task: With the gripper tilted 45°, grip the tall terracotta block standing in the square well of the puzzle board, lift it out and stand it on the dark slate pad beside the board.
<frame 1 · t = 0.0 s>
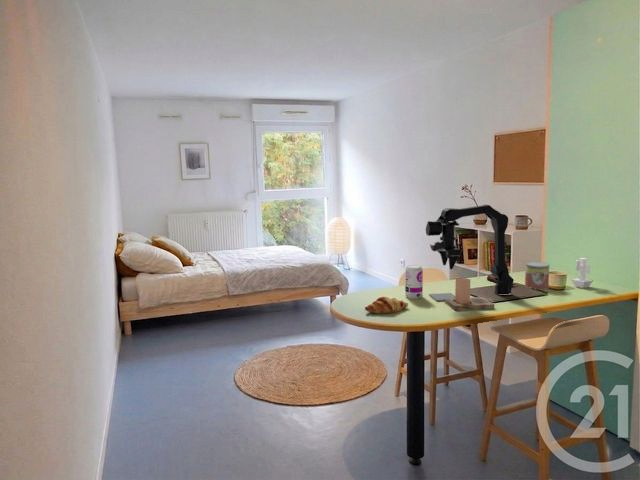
hand: (447, 267, 235), 15 cm above the breakfast bar, tool pointing down, fingers open, 9 cm apart
puzzle board: (469, 305, 222), on the breakfast bar
slate pad: (443, 297, 236), on the breakfast bar
sunglasses case: (502, 284, 263), on the breakfast bar
terracotta block: (462, 306, 222), resting in puzzle board
supplement can: (413, 297, 239), on the breakfast bar
croissant: (387, 311, 217), on the breakfast bar
canned food: (536, 287, 253), on the breakfast bar
figurine: (581, 287, 251), on the breakfast bar
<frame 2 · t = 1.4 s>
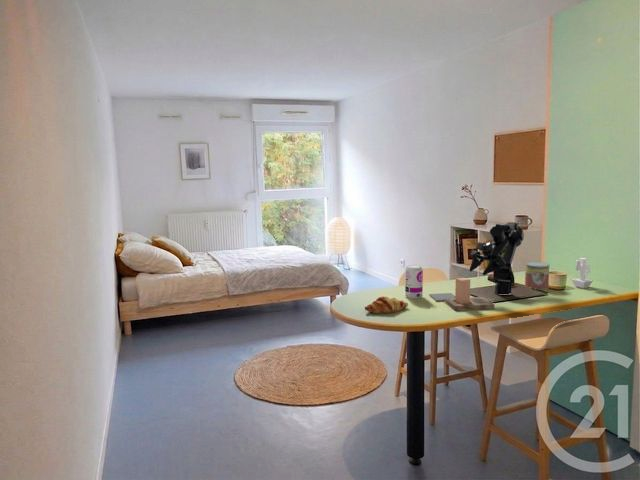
hand: (476, 272, 226), 14 cm above the breakfast bar, tool tilted 45°, fingers open, 9 cm apart
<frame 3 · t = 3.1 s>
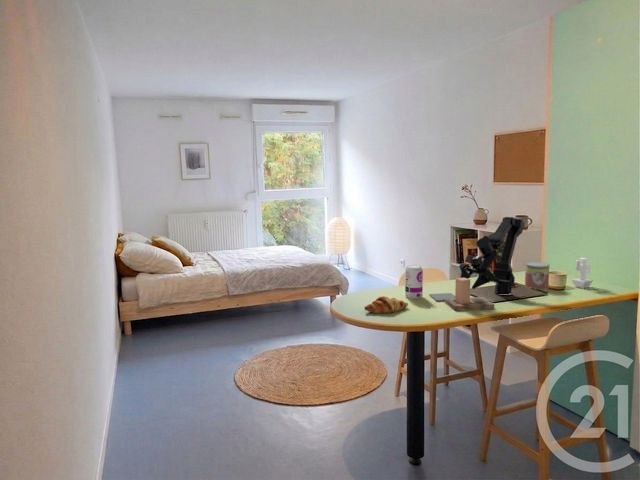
hand: (465, 286, 221), 9 cm above the breakfast bar, tool tilted 45°, fingers open, 9 cm apart
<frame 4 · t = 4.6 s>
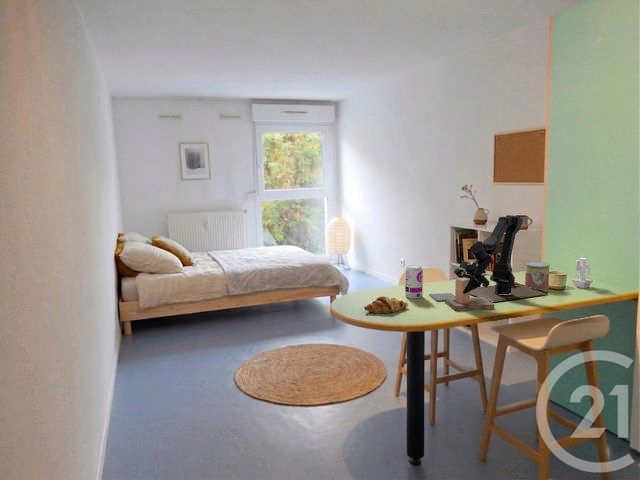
hand: (460, 291, 221), 7 cm above the breakfast bar, tool tilted 45°, fingers closed on terracotta block, 4 cm apart
terracotta block: (462, 305, 222), resting in puzzle board, touching gripper
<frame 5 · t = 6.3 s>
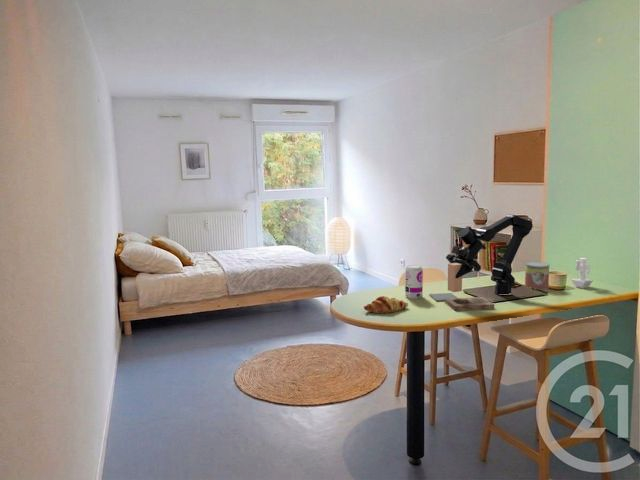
hand: (452, 276, 226), 12 cm above the breakfast bar, tool tilted 45°, fingers closed on terracotta block, 4 cm apart
terracotta block: (454, 290, 227), point 6 cm above the breakfast bar, touching gripper
when the fingers open (9 cm above the breakfast bar, at t = 8.1 s): terracotta block drops 1 cm, resting on slate pad.
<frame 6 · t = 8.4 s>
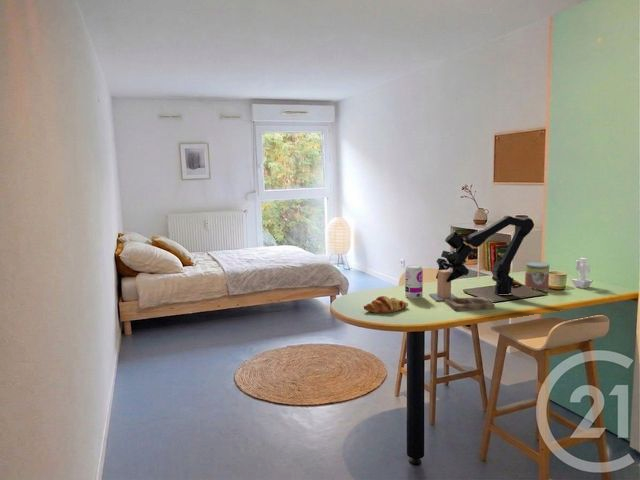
hand: (441, 280, 234), 9 cm above the breakfast bar, tool tilted 45°, fingers open, 8 cm apart
terracotta block: (443, 296, 236), point 1 cm above the breakfast bar, touching slate pad
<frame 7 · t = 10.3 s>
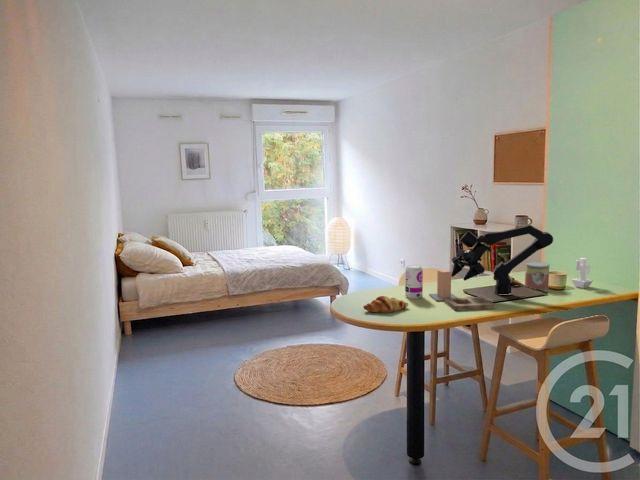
hand: (457, 278, 237), 9 cm above the breakfast bar, tool tilted 45°, fingers open, 9 cm apart
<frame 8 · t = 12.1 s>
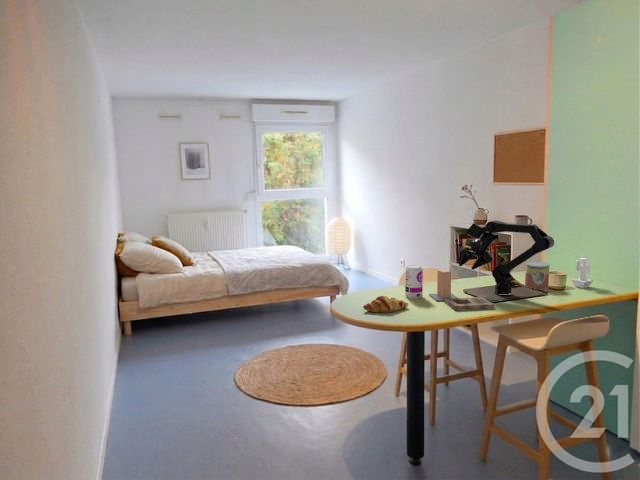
hand: (465, 267, 239), 14 cm above the breakfast bar, tool tilted 45°, fingers open, 9 cm apart
at the end: terracotta block inside the target area on the slate pad (0.0 cm from its centre), point 0.8 cm above the slate pad's base; terracotta block tilted 0°; the gripper is holding nothing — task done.
